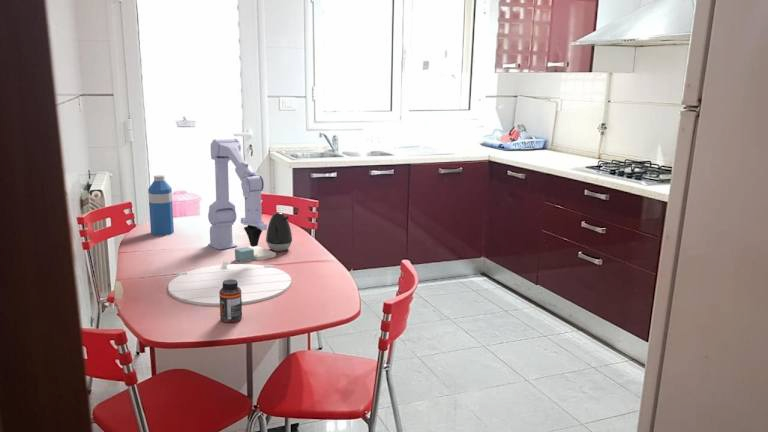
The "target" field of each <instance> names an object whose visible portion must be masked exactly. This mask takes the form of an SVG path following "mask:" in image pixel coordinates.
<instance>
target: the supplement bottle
mask: <svg viewBox="0 0 768 432" xmlns="http://www.w3.org/2000/svg"><path fill="white" fill-rule="evenodd" d="M237 286H238V283H237V280H234V279H228V280H224V281H223V288H222V289H220V292H219V293H220V296H219V297H220V306H219V313H220V314H219V316H220V321H222V322H223V323H226V324H229V323H232V324H234V323H237V322H239V321H241V320H242V318H243V305H242V297H241V289H240V288H239V287H237Z"/></svg>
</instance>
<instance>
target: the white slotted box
mask: <svg viewBox="0 0 768 432" xmlns="http://www.w3.org/2000/svg"><path fill="white" fill-rule="evenodd" d="M242 247H243V246H242ZM242 247H240V248H242ZM245 247H249V248H251V249H254V260H256V261H261V260H266V259H267V260H268V259H271V258H275V257H277V253H276V252H275V251H273V250H269V249H267V248H264V247H261V246H259V245H258V246H254V247H252V246H251V245H247V246H245Z"/></svg>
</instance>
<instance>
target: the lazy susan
mask: <svg viewBox="0 0 768 432" xmlns="http://www.w3.org/2000/svg"><path fill="white" fill-rule="evenodd" d="M222 262H223V263H222V264H219V265H212V266H206V267H200V268H197V269H193V270H190V271H184V272H178V273H176V275H175V276H176V277H174V278H173V279H172V280H171V281H170V282H169V283H168V288H167V289H168V290H167V291H168V293H169V294H170V296H172V297H173V298H175V300H178V301H181V302H184V303H187V304H193V305H198V306H205V307H206V306H209V307H212V306H213V307H220V297H219V296H220V293H219V292H220V289H222V288H223V281H224V280H228V279H234V280H237V283H238V286H237V287H239V288H240V289H241V297H242V306H243V305H249V304H254V303H259V302H263V301H267V300H270V299H273V298H277V297H278V296H280V295H281V294H282V295H283V294H284V293H285V292H287V291H288V290H289V289H290V288H291V286H292V277H291V276H290V275H289V274H288V273H287V272H286V271H284V270H282V269H279V268H275V267H276V266H275V265H273V264H267V265H266V264H264V265H259V264H250V263H241V264H240V263H237V264H236V263H235V264H234V263H233V264H232V263H231V264H230V262H229V261H227V260H223V261H222ZM288 288H289V289H288ZM287 289H288V290H287ZM286 290H287V291H286ZM284 291H285V292H284Z"/></svg>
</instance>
